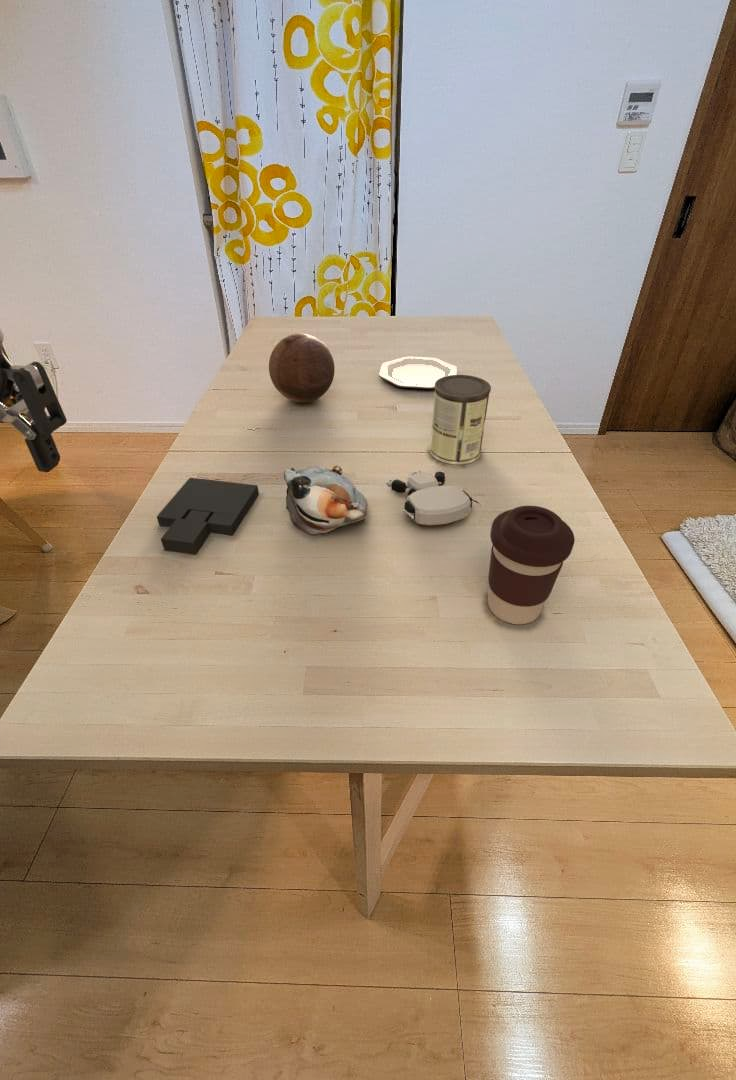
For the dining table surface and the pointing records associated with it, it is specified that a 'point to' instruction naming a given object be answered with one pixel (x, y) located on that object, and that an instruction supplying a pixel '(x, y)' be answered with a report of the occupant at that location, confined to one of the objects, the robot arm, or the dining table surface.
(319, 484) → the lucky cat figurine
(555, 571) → the coffee cup
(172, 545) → the black pad
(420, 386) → the plate
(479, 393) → the coffee can
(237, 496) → the base pad
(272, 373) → the wooden sphere
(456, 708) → the dining table surface
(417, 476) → the robot toy
